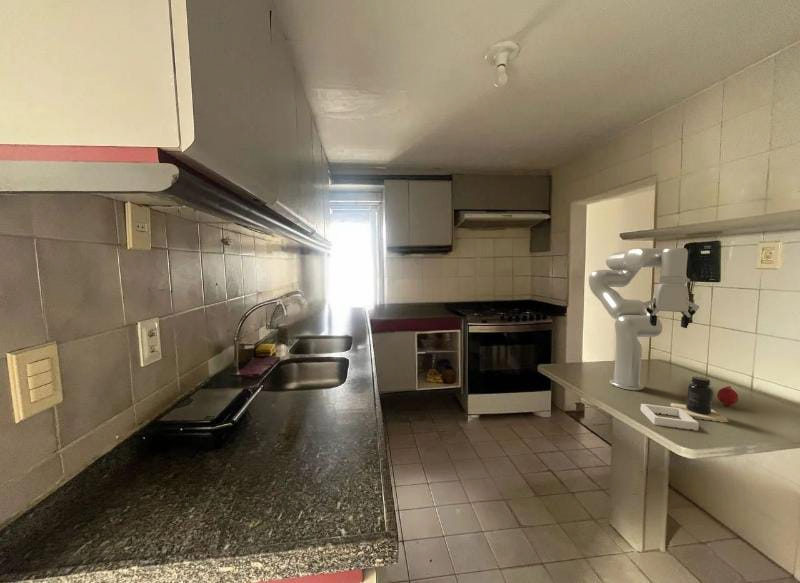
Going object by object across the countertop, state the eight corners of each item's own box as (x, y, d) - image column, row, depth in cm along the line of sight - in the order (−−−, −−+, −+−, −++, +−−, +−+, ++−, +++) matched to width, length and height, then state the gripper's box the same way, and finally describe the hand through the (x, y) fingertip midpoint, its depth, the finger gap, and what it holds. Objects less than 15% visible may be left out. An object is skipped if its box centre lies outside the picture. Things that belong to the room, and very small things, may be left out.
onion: (732, 410, 126) (734, 389, 125) (713, 404, 131) (715, 384, 130) (740, 407, 128) (742, 387, 127) (721, 402, 133) (723, 382, 133)
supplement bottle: (715, 416, 118) (719, 382, 117) (693, 413, 119) (696, 380, 118) (702, 408, 124) (705, 376, 123) (681, 406, 126) (684, 374, 125)
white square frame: (640, 410, 123) (641, 403, 123) (679, 415, 120) (680, 408, 120) (654, 424, 112) (654, 417, 112) (698, 430, 108) (698, 423, 108)
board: (670, 405, 129) (670, 402, 128) (709, 410, 125) (709, 407, 125) (685, 417, 118) (685, 414, 118) (727, 422, 115) (728, 420, 114)
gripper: (694, 281, 127) (691, 326, 128) (641, 280, 132) (638, 323, 133) (706, 282, 119) (702, 330, 121) (649, 280, 125) (645, 326, 126)
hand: (668, 326), depth 127 cm, fingers open, 9 cm apart
